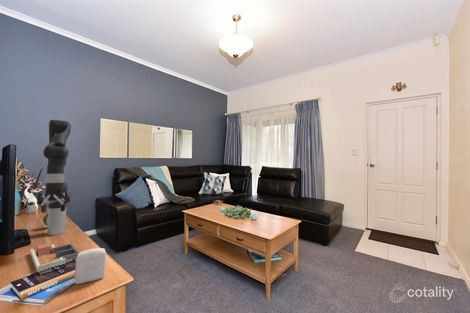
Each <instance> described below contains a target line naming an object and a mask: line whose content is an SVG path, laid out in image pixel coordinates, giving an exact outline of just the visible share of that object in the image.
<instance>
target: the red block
mask: <svg viewBox="0 0 470 313" xmlns="http://www.w3.org/2000/svg"><path fill="white" fill-rule="evenodd" d="M35 254H36V256H37V257H42V256H47V255H49V254H51V245H50V244H49V243H48V242H47V243H42V244H38V245H36V251H35Z"/></svg>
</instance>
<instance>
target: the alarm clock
mask: <svg viewBox="0 0 470 313" xmlns="http://www.w3.org/2000/svg"><path fill="white" fill-rule="evenodd" d="M42 221H43V223H44V225H45V226H46V228H45V230H47V228H48V212H46V214H45V215H44V216H43V219H42Z"/></svg>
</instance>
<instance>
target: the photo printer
mask: <svg viewBox="0 0 470 313" xmlns="http://www.w3.org/2000/svg"><path fill="white" fill-rule="evenodd" d="M79 252H80V253H78V256H77V258H76V259H75V274H74V284H75V285H80V284H84V283H88V282H93V281H97V280H101V279H105V276H106V264H107V263H106V262H107V260H106V259H107V253H106V248H102V247H100V248H99V247H97V248H90V249H86V250H82V251H79Z"/></svg>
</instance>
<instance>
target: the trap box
mask: <svg viewBox="0 0 470 313" xmlns="http://www.w3.org/2000/svg"><path fill="white" fill-rule="evenodd" d="M50 251H51V253H53V254H54V253H55V258H58V259H57V260H54V261H53V260H52V261H49V262H46V263H43V264H40V261H39V259H38V255H37V253H36V251H35V249H34V248H30V257H31V260H32V262H33V265H34V269H35V271H36V270H37V271H42V270H45V269H48V268H51V267H55V266H58V265H62V264H65V263H67V261H66V260H67V259H73V260H76V258H77V256H78V253H80V252H81V251H79V250H78V248H77V247H75V245H74V244H73V243H69V244H64V245H60V246H55V243H53V244H51V245H50ZM37 271H36V272H37Z"/></svg>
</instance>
